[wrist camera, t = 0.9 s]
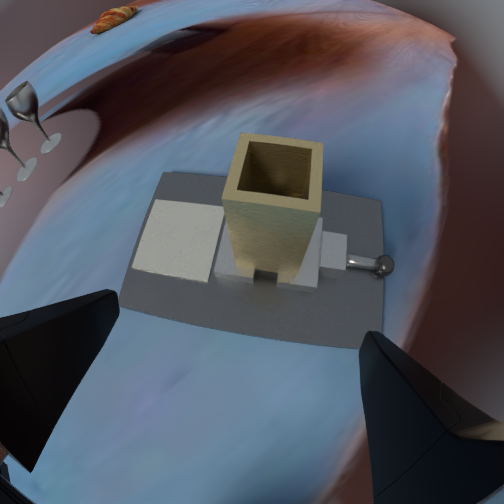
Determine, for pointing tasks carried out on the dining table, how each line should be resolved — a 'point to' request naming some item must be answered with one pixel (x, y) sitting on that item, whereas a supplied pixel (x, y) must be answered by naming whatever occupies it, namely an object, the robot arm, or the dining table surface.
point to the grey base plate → (258, 281)
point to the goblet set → (26, 109)
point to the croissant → (113, 18)
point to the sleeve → (273, 201)
